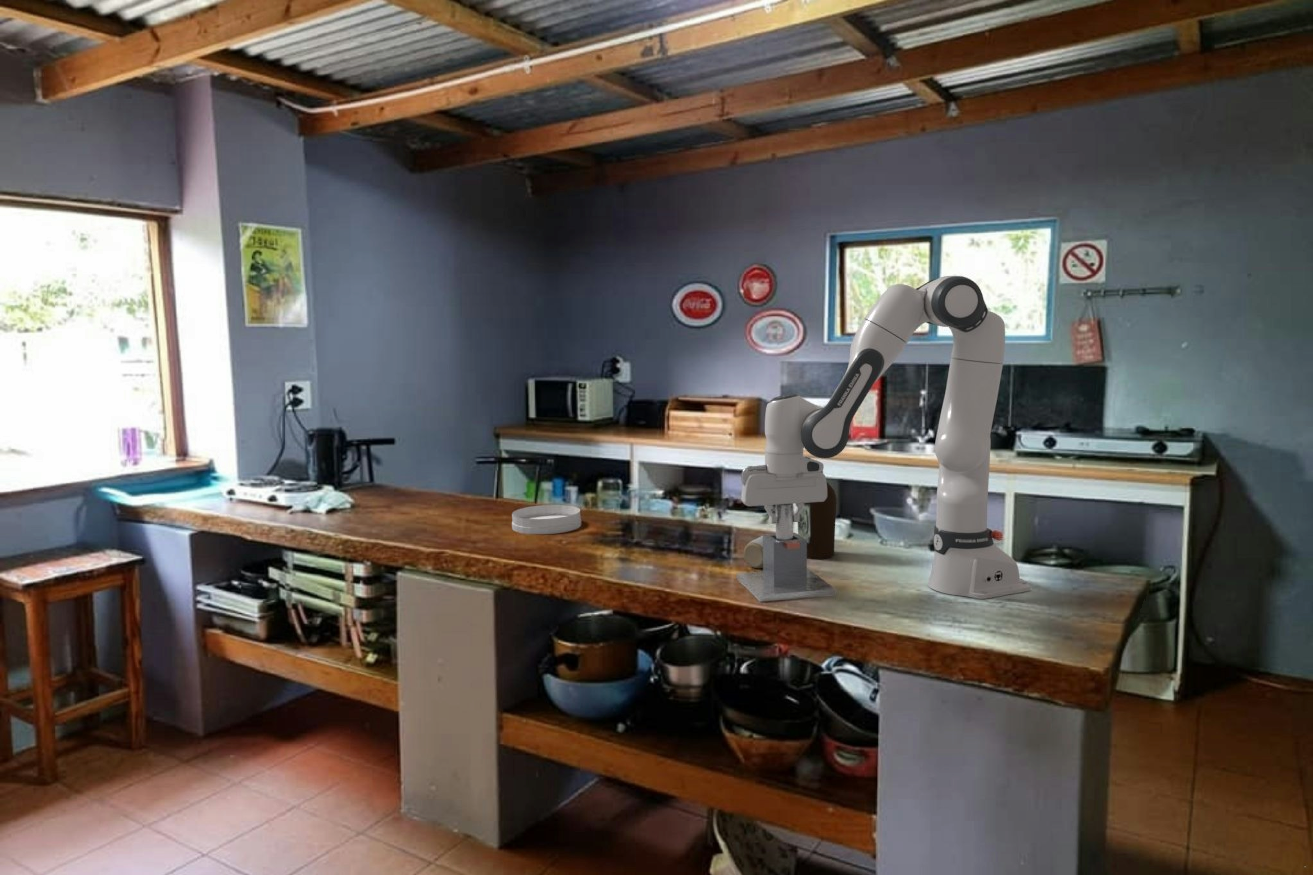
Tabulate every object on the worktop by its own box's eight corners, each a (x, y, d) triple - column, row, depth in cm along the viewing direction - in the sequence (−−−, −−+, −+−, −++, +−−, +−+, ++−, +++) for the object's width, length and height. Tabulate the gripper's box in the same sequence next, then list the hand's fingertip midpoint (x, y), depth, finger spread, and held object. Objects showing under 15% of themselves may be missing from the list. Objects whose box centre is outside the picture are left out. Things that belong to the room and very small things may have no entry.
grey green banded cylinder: (789, 575, 198) (789, 501, 196) (796, 580, 194) (796, 505, 192) (772, 576, 197) (772, 502, 195) (778, 581, 193) (778, 506, 191)
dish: (504, 524, 270) (503, 509, 270) (568, 516, 280) (567, 502, 279) (523, 538, 250) (522, 522, 250) (591, 529, 260) (590, 514, 259)
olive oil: (824, 548, 230) (824, 459, 227) (843, 557, 220) (844, 465, 217) (789, 551, 227) (789, 462, 224) (807, 561, 217) (807, 467, 214)
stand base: (806, 573, 206) (806, 526, 205) (835, 595, 189) (835, 543, 187) (737, 579, 203) (736, 531, 201) (760, 601, 185) (759, 549, 184)
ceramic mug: (741, 566, 213) (741, 538, 212) (758, 559, 220) (759, 531, 219) (776, 574, 207) (776, 544, 206) (793, 567, 213) (793, 538, 212)
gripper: (745, 468, 187) (745, 528, 189) (830, 463, 191) (830, 522, 193) (737, 464, 193) (737, 522, 195) (819, 459, 197) (819, 516, 199)
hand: (784, 522), depth 194 cm, fingers closed on grey green banded cylinder, 4 cm apart
